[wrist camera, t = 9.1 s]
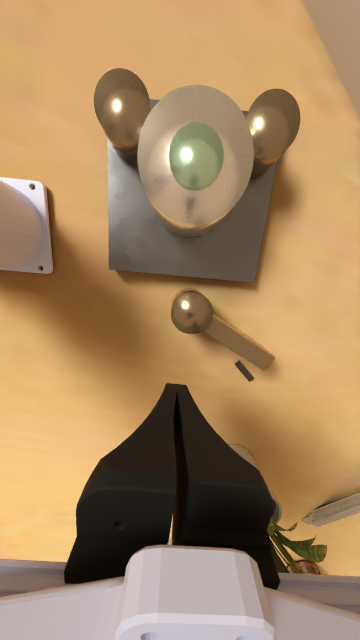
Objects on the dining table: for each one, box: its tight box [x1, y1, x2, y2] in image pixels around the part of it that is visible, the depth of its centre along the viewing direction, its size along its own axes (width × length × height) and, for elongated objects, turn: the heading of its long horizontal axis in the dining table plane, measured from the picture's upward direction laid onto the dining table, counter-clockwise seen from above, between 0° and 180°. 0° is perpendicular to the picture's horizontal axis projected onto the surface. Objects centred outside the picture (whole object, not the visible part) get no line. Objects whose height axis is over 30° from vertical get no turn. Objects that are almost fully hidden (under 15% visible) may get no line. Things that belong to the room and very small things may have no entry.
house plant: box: [229, 444, 327, 574], centre depth 18 cm, size 14×14×16 cm
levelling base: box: [94, 68, 300, 382], centre depth 16 cm, size 17×25×7 cm
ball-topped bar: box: [171, 288, 275, 370], centre depth 18 cm, size 11×4×4 cm, turn 56°
